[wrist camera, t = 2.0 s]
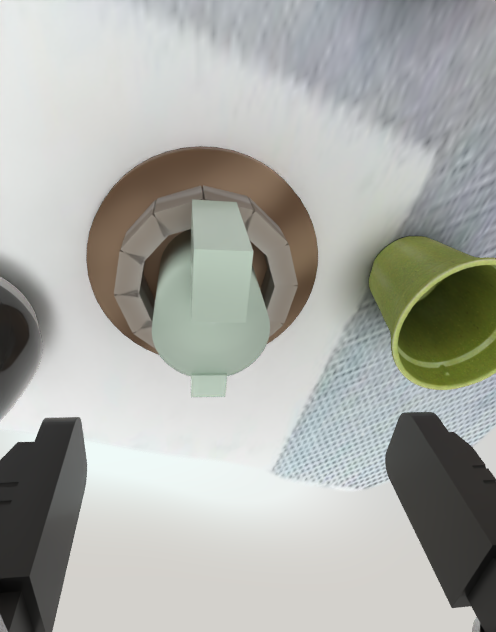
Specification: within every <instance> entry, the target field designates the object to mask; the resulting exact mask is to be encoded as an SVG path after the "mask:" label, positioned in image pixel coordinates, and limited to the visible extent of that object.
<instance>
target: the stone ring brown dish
mask: <svg viewBox="0 0 496 632" xmlns="http://www.w3.org/2000/svg"><path fill="white" fill-rule="evenodd" d="M192 199H193V200H210V201H227V202H237V205H238V208H239V211H240V214H241V217H242V220H243V222H244V225H245V228H246V231H247V234H248V237H249V240H250V243H251V246H252V249H253V260H252V265H253V268H254V272H255V275H256V278H257V281H258V284H259V287H260V291H261V294H262V297H263V300H264V303H265V306H266V310H267V313H268V317H269V321H270V334H269V338H268V342H267V344H268V343H269V342H271V341H272V340H274V339H275V338H276V337H277V336H279V335H280V334H281V333H282V332H283V331H285V330H286V329H287V328H288V327H289V326H290V325H291V324H292V322H293V321H294V320H295V319H296V317H297V316H298V315H299V314H300V312H301V310H302V309H303V307H304V305H305V304H306V302H307V300H308V298H309V295H310V293H311V291H312V288H313V285H314V281H315V278H316V272H317V266H318V248H317V239H316V235H315V231H314V227H313V224H312V221H311V219H310V217H309V214H308V212H307V210H306V208H305V207H304V205H303V203H302V202H301V200H300V198H299V197H298V196H297V195H296V193H295V192H294V191H293V190H292V188H291V187H290V186H289V185H288V184H287V182H286V181H285V180H283V179H282V178H281V177H280V176H279V175H278V174H277V173H276V172H275V171H273V170H272V169H270V168H269V167H268V166H266V165H265V164H263V163H262V162H260V161H258V160H256V159H254V158H252V157H250V156H247V155H244V154H242V153H239V152H236V151H233V150H228V149H222V148H217V147H201V146H199V147H188V148H180V149H176V150H172V151H167V152H164V153H162V154H159V155H157V156H154V157H151V158H150V159H148V160H146V161H144V162H142V163H141V164H139V165H137V166H136V167H134V168H133V169H132V170H130V171H129V172H128V173H127V174H125V175H124V176H123V177H122V178H121V179H120V180H119V181H118V182H117V183H116V184H115V185H114V186H113V188H112V189H111V190H110V192H109V193H108V195H107V196H106V197H105V199H104V200H103V202H102V204H101V206H100V208H99V210H98V212H97V214H96V216H95V218H94V220H93V223H92V226H91V229H90V232H89V238H88V243H87V269H88V276H89V280H90V283H91V287H92V290H93V292H94V295H95V297H96V299H97V302H98V303H99V305H100V307H101V308H102V310H103V312H104V313H105V315H106V316H107V317H108V318H109V320H110V321H111V322H112V323H113V325H114V326H116V327H117V328H118V329H119V330H120V331H121V332H122V333H123V334H124V335H125V336H127V337H128V338H129V339H131V340H132V341H133V342H135V343H136V344H138V345H140V346H142V347H143V348H145V349H147V350H149V351H152V352H154V353H156V354H158V352H157V350H156V348H155V346H154V343H153V339H152V321H153V314H154V306H155V298H156V291H157V283H158V275H159V267H160V261H161V257H162V254H163V252H164V250H165V248H166V247H167V245H168V244H169V243H170V242H171V240H172V239H173V238H175V237H176V236H177V235H179V234H180V233H182V232H184V231H186V230H189V229H191V219H192ZM158 355H159V354H158Z"/></svg>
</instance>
